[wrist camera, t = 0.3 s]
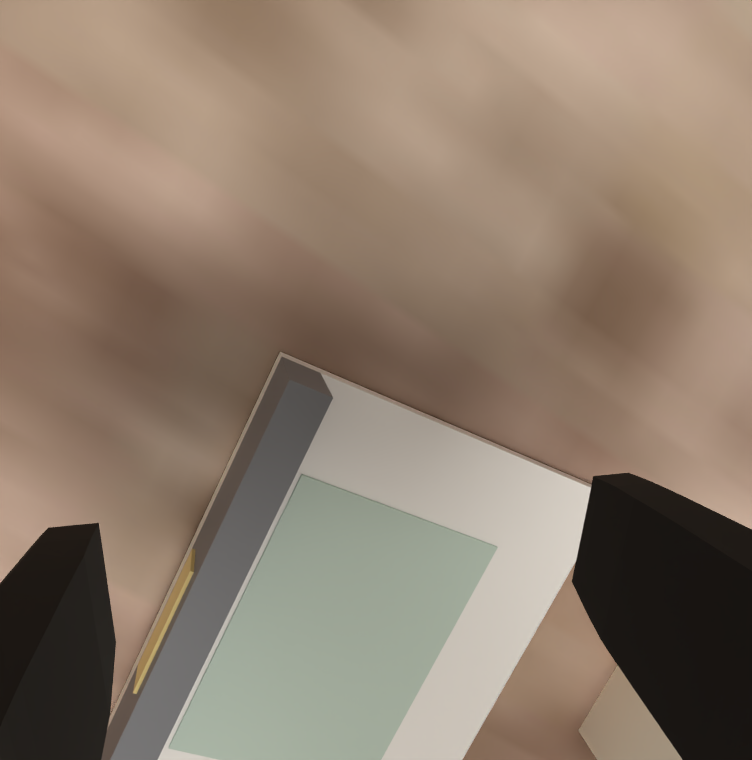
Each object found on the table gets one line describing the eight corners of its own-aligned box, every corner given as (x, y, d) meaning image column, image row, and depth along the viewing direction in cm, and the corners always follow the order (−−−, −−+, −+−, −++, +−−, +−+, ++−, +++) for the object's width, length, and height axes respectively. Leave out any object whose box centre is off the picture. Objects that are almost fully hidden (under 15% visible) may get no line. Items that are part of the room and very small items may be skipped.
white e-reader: (395, 854, 26) (416, 937, 23) (70, 792, 22) (48, 881, 19) (603, 489, 23) (655, 531, 20) (276, 349, 20) (285, 377, 17)
